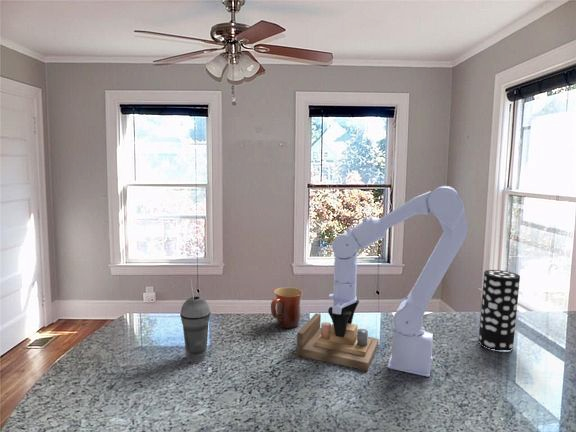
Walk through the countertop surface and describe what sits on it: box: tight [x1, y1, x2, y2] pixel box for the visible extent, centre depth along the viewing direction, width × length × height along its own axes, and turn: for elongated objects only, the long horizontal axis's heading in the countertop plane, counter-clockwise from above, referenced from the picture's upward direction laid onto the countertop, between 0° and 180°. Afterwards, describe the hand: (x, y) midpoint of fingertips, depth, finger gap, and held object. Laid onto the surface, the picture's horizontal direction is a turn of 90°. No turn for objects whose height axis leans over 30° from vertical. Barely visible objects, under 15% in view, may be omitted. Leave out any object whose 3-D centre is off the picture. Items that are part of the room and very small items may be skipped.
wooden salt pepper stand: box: [315, 321, 372, 356], centre depth 99 cm, size 13×8×5 cm, turn 67°
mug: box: [270, 286, 304, 329], centre depth 114 cm, size 12×9×10 cm
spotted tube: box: [477, 269, 521, 350], centre depth 103 cm, size 8×8×20 cm
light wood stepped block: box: [296, 313, 380, 372], centre depth 99 cm, size 18×14×6 cm
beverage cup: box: [179, 278, 212, 364], centre depth 93 cm, size 7×7×20 cm
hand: (343, 331), depth 98 cm, fingers open, 6 cm apart
